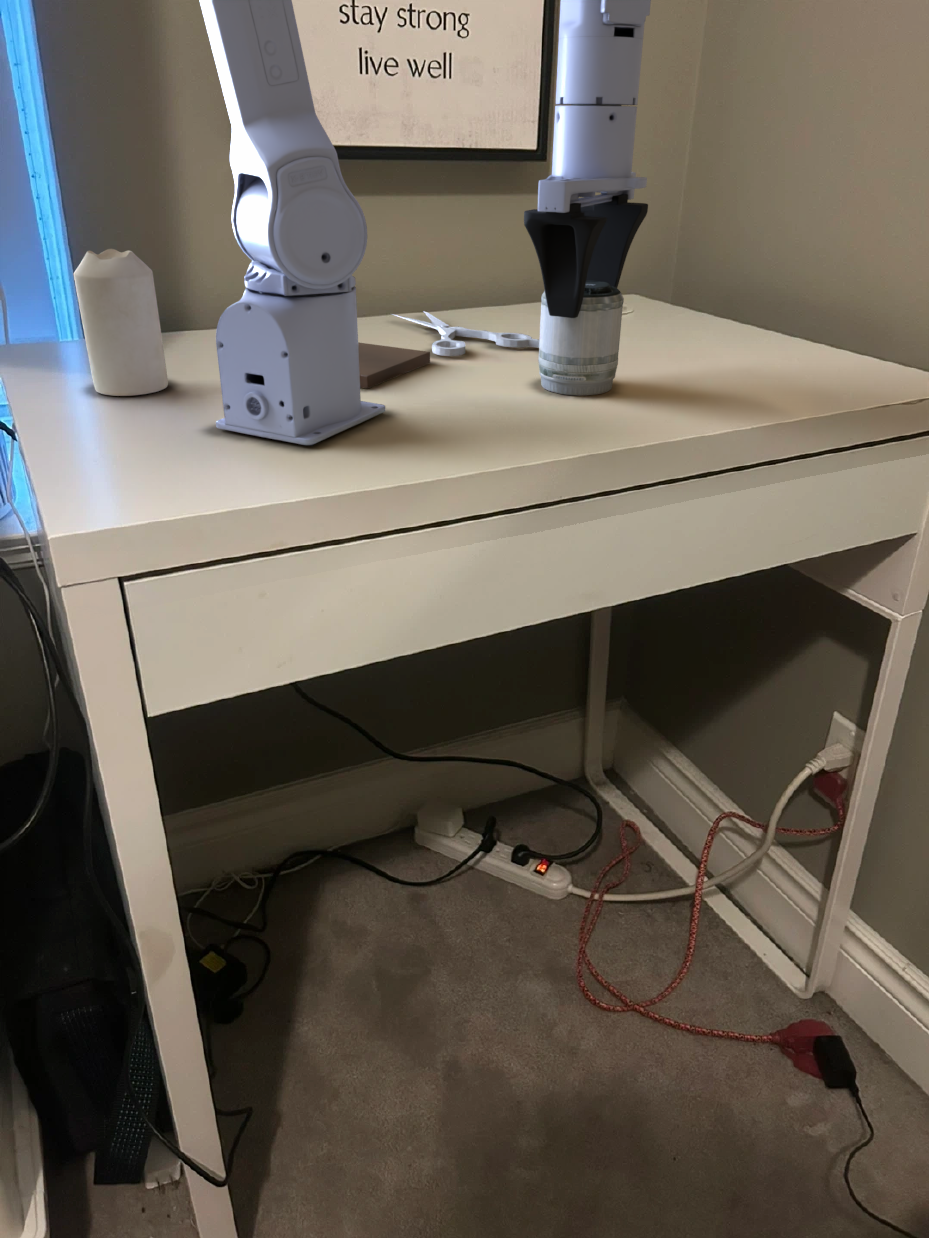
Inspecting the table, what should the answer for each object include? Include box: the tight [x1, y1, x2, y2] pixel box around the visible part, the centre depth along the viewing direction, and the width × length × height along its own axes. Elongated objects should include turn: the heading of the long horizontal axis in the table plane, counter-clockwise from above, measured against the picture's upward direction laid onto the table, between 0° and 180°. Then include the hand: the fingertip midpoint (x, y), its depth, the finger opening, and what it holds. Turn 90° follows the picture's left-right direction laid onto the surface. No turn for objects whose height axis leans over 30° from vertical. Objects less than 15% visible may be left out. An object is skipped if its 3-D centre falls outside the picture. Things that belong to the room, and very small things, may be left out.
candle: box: [73, 248, 169, 397], centre depth 69 cm, size 6×6×10 cm
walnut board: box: [358, 341, 431, 390], centre depth 78 cm, size 10×10×1 cm
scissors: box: [391, 310, 540, 357], centre depth 90 cm, size 11×1×20 cm
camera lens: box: [538, 280, 625, 397], centre depth 72 cm, size 6×6×8 cm
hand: (582, 308), depth 71 cm, fingers open, 7 cm apart
